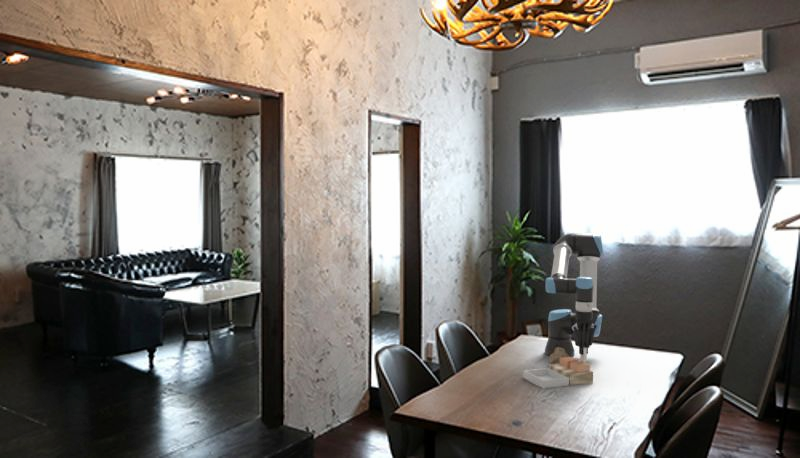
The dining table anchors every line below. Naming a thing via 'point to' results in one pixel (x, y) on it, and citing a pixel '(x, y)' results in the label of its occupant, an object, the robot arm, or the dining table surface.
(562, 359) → the tile
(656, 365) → the dining table surface
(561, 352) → the rock
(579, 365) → the tile
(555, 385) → the box
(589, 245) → the robot arm
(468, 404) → the dining table surface
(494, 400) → the dining table surface
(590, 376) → the board
